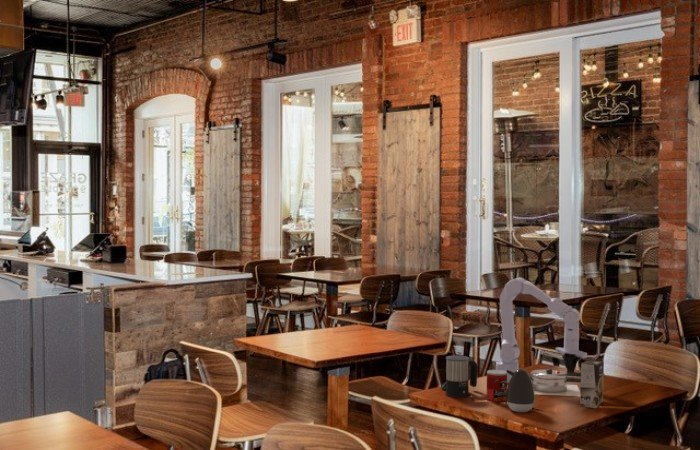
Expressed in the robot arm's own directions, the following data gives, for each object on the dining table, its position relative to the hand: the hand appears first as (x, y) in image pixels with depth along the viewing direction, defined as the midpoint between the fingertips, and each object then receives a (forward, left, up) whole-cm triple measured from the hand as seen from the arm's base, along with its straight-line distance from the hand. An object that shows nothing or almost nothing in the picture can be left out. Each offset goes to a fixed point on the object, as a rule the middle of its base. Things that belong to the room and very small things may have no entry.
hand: (570, 373), depth 333 cm
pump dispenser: (-22, -38, -7) cm, 44 cm away
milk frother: (-46, -14, -7) cm, 49 cm away
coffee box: (+5, -24, -7) cm, 25 cm away
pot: (-6, -5, -6) cm, 10 cm away
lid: (-5, -5, 0) cm, 7 cm away
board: (-7, -5, -7) cm, 11 cm away
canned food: (-30, -24, -7) cm, 39 cm away
